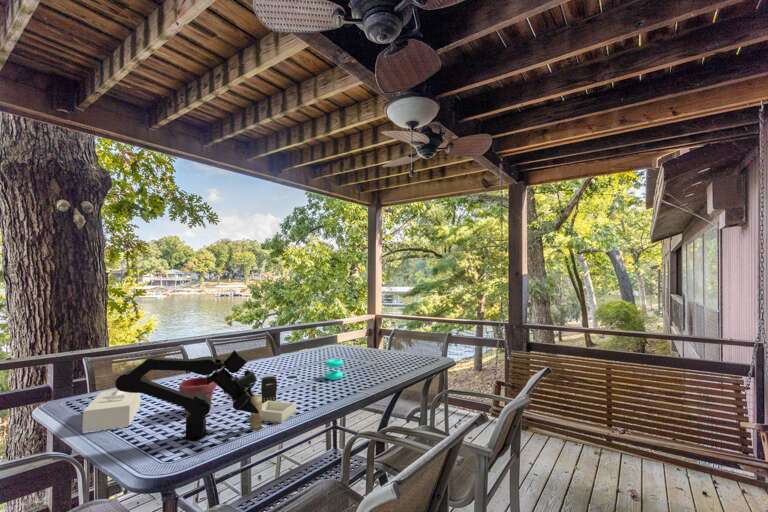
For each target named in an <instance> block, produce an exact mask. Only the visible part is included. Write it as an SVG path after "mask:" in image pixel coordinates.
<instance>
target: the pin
mask: <svg viewBox="0 0 768 512" xmlns="http://www.w3.org/2000/svg"><path fill="white" fill-rule="evenodd" d="M251 402H252V403H253V404H254V405H255V407H256V408H257V409H258V410H259V413H258V414H255V413H251V412H250V429H251V430H250V429H249V430H250V431H252V430H257V431H260V430H261V429H262V425H263V424H262V422H263V421H262V404H263V403H262V396H261V394H256V395H253V396H252V397H251ZM259 429H260V430H259Z"/></svg>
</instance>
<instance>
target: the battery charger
mask: <svg viewBox="0 0 768 512" xmlns="http://www.w3.org/2000/svg"><path fill="white" fill-rule="evenodd" d="M260 382H261V383H260V386H261V387H260V393H261V394H260V395H261V396H262V404H263V403H264V402H266V401H277V388H278V380H277V377H276V375H268V376H264V377H262V379H261V381H260Z"/></svg>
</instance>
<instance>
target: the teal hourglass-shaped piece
mask: <svg viewBox="0 0 768 512" xmlns="http://www.w3.org/2000/svg"><path fill="white" fill-rule="evenodd" d="M343 365H344V361H343V360H342V359H340V358H332V359H328V360H326V362H325V366H327V368H331V369H337V368H341V367H342V366H343ZM325 378H326V379H327V380H329V381H330V380H331V381H337V380H339V381H340V380H341V379H343V378H344V373H343V372H342V371H339V370H329V371H328V372H326V374H325Z"/></svg>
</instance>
